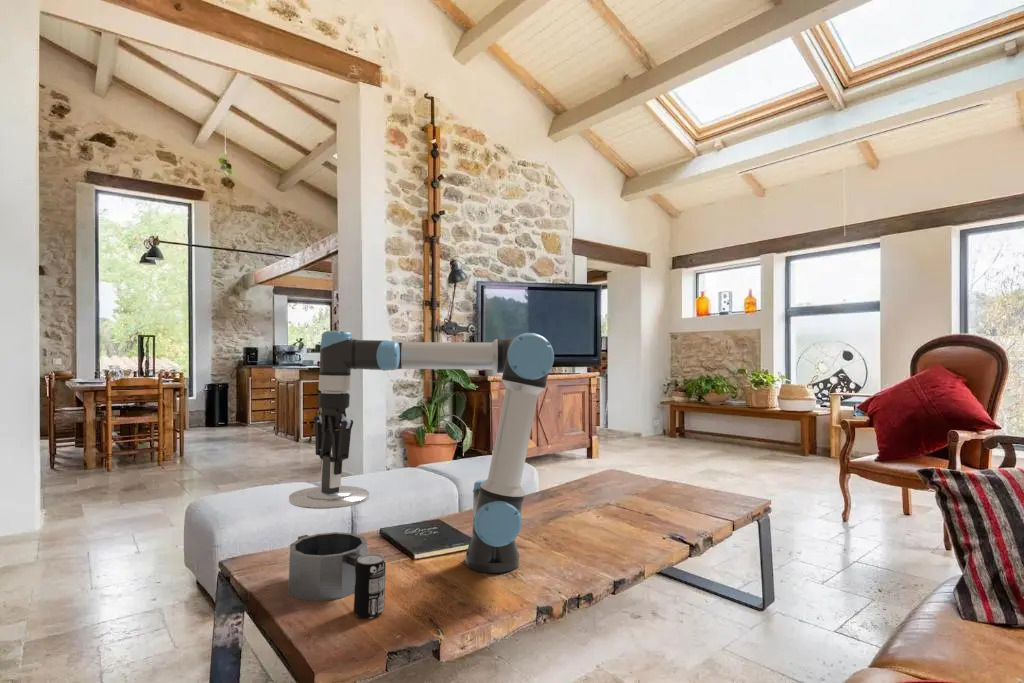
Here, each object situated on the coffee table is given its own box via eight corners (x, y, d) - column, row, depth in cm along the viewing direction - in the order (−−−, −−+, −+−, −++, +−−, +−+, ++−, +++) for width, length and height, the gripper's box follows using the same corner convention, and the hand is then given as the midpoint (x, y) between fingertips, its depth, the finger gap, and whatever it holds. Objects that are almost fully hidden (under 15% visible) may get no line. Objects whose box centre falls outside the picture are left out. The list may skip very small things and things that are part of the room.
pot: (387, 586, 135) (388, 545, 135) (323, 611, 121) (325, 566, 121) (330, 562, 149) (331, 526, 150) (267, 583, 135) (269, 542, 135)
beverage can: (356, 606, 123) (358, 553, 124) (386, 606, 124) (387, 553, 124) (350, 620, 117) (352, 564, 117) (381, 619, 117) (383, 563, 118)
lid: (384, 498, 137) (386, 456, 138) (318, 513, 122) (320, 466, 123) (339, 486, 149) (341, 447, 149) (273, 498, 134) (275, 455, 134)
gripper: (366, 393, 135) (362, 488, 134) (328, 390, 145) (324, 478, 144) (340, 394, 129) (336, 494, 128) (302, 390, 139) (298, 483, 138)
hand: (330, 485), depth 136 cm, fingers closed on lid, 3 cm apart
